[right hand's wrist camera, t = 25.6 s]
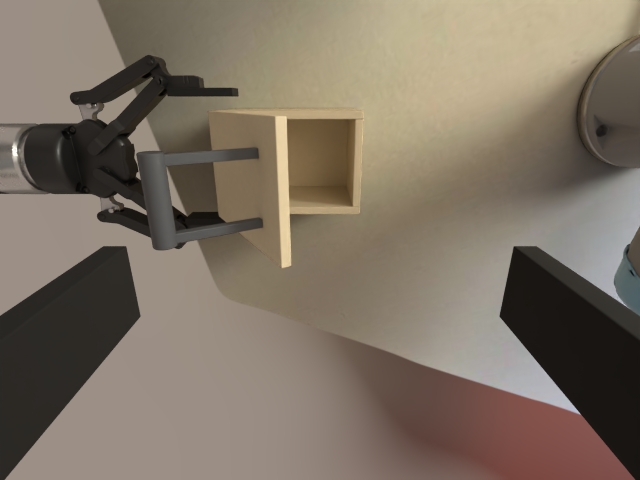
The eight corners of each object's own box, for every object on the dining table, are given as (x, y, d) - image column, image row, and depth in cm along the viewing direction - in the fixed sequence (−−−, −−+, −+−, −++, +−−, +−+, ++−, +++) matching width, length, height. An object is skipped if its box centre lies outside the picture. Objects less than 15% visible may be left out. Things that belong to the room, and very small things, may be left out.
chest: (353, 108, 44) (363, 110, 34) (351, 190, 48) (359, 214, 38) (237, 108, 44) (213, 110, 34) (243, 190, 48) (223, 214, 38)
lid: (286, 115, 22) (136, 119, 18) (291, 266, 26) (167, 297, 22) (216, 110, 34) (115, 112, 30) (226, 215, 38) (137, 229, 34)
